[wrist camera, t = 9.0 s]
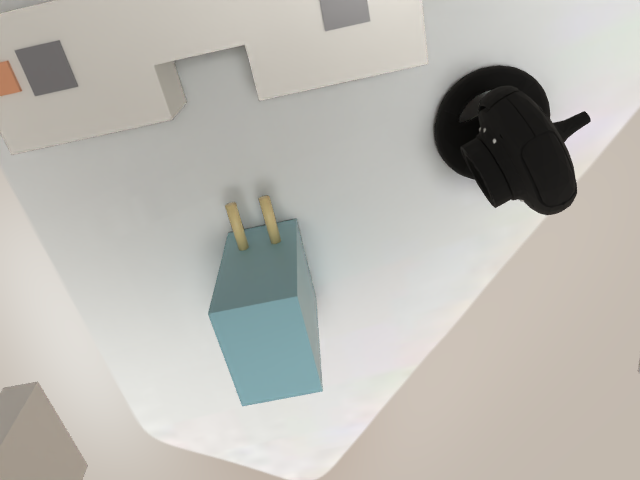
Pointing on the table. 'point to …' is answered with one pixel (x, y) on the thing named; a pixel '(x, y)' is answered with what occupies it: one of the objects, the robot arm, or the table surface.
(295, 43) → the power strip
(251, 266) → the charger
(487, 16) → the table surface
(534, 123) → the webcam
